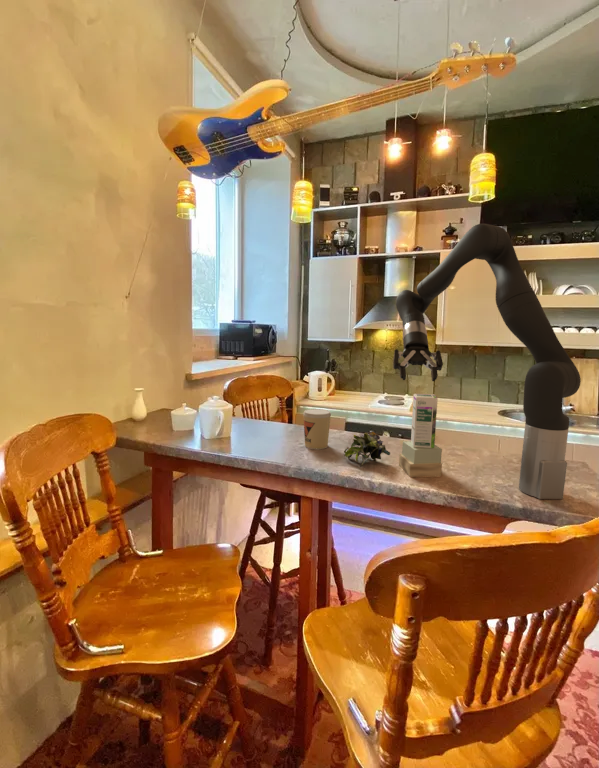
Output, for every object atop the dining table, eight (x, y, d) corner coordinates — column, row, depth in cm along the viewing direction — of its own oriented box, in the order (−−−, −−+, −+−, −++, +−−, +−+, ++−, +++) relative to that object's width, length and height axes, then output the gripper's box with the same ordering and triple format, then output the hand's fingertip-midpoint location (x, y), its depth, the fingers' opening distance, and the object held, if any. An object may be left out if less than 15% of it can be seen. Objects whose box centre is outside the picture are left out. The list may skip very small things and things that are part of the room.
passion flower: (371, 476, 126) (397, 448, 123) (360, 481, 116) (387, 451, 113) (346, 451, 131) (370, 423, 127) (333, 453, 121) (358, 424, 118)
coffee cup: (299, 443, 141) (299, 409, 140) (324, 441, 144) (325, 408, 142) (307, 451, 133) (308, 415, 131) (334, 448, 135) (335, 413, 134)
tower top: (440, 462, 113) (441, 448, 112) (413, 463, 111) (414, 449, 111) (427, 453, 120) (428, 440, 120) (401, 454, 119) (402, 441, 119)
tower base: (440, 477, 113) (442, 463, 112) (409, 478, 112) (410, 464, 111) (428, 466, 121) (428, 453, 121) (398, 466, 121) (399, 453, 120)
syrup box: (413, 447, 113) (416, 396, 110) (410, 441, 118) (413, 392, 116) (434, 449, 112) (438, 397, 109) (430, 442, 118) (434, 393, 115)
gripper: (393, 329, 127) (396, 370, 117) (440, 330, 125) (447, 372, 116) (390, 345, 133) (393, 385, 123) (435, 347, 131) (441, 387, 122)
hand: (419, 379), depth 120 cm, fingers open, 8 cm apart
